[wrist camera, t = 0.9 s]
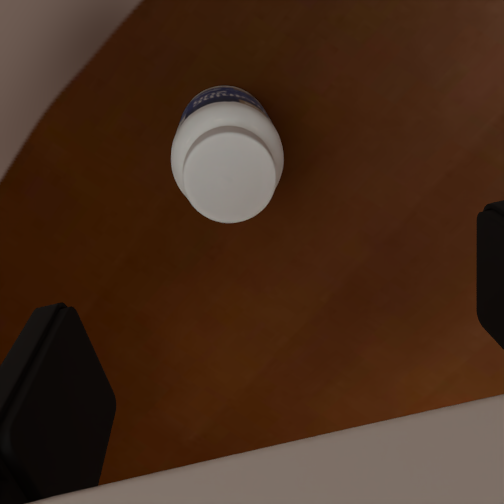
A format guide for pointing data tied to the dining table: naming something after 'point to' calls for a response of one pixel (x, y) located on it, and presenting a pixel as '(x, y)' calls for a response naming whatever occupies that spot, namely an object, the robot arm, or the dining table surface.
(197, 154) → the pill bottle
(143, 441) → the dining table surface
